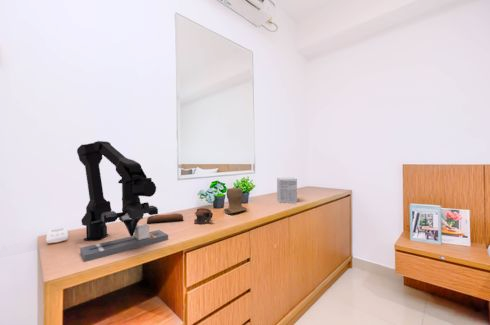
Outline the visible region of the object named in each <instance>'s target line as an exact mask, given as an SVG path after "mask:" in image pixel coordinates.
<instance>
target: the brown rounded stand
mask: <svg viewBox="0 0 490 325" xmlns="http://www.w3.org/2000/svg"><path fill="white" fill-rule="evenodd" d="M243 197H244V196H243V188H241V187H230V188H227V189H226V198H227V201H228V206H227V207H226V208H224V209H223V212H224V213H225V214H227V215H232V214H236V213H237V214H238V213H241V212H244V211H246V210H248V208H247V207H244V206H243V205H242V202H243Z"/></svg>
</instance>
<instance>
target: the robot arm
mask: <svg viewBox="0 0 490 325" xmlns="http://www.w3.org/2000/svg"><path fill="white" fill-rule="evenodd" d="M76 154H77V156H78V159H79V161H80V163H81V164H82V165H83V166H84V168H85V169H84V170H85V175H86V181H87V190H88V196H89V198H88V199H89V201H88V203H87V206H86V207H85V210H86V211H85V214H84V216H83V217H82V218H81V225H82V226H86V230H85V232H86V237H85V238H84V239H83V240H84V241H99V240H102V239H104V238H105V237H107V236H109V233H108V226H107V225H106V224H107V223H113V222H116V221H117V220H119V221H120V222H121V223H124V225H125V227H126V229H127V230H126V231H127V232H128V234H129V237H130V236H133V234H134V231H135V228H136V226H137V225H138V223H139V222H140V220H143V219H144V216H145V215H146V214H148V215H149V216H154V215H159V209H158V207H157V206H155V205H150V203H149V202H148V201H147V202H141V198H140V197H146V198H147V197H153V196H154V195H155V194H156V192H157V186H156V184H155V182H154V181H152V177H147V174H146V173H145V172H144V170H143V168H142V165H141V164H140V163H139V162H137V161H136V160H134V159H131V158H127V157H125V156H124V155H123V153H121V152H120V151H119V150H118V149H116V148H115V147H114V146H112V144H111V142H109V141H103V140H97V141H95V142H92V143H86V144H81V145H80V146H79V147H77V149H76ZM103 156H104V157H105V158H106V159H107V160H108V161H109V162H110V163H111V164H112V165H113V166H115V171H116V173H117V174H118V176H119V177H120V178H121V179H119V180H118V182H117V183H118V184H121V193H122V195H121V201H122V205H121V207H122V208H121V211H122V212H121V211H120V212H116V211H114V210H112V207H111V201H110V200H108V201H107V200H106V198H105V196H104V190H103V182H102V176H101V169H100V164H101V162H102V159H103Z"/></svg>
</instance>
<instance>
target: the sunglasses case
mask: <svg viewBox="0 0 490 325" xmlns="http://www.w3.org/2000/svg"><path fill="white" fill-rule="evenodd" d="M173 221H175V222H176V221H184V216H183V214H182V213H178V212H177V213H176V212H175V213H169V214H155V215H149V216H148V217H147V220H146V225H148V224H157V223H160V222H161V223H162V222H173Z"/></svg>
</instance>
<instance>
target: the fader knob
mask: <svg viewBox="0 0 490 325" xmlns="http://www.w3.org/2000/svg"><path fill="white" fill-rule="evenodd" d="M149 232H150V225H148V224H147V223H142V224H137V226H136V228H135V231H134V234H133V236H134V237H135V238H136V239H138V240H142V239H146V238H150V235H149Z"/></svg>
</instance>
